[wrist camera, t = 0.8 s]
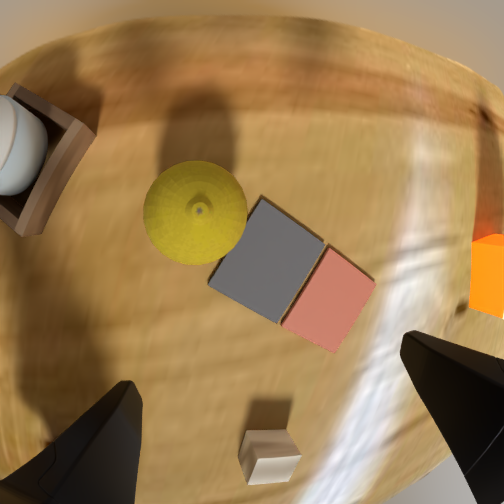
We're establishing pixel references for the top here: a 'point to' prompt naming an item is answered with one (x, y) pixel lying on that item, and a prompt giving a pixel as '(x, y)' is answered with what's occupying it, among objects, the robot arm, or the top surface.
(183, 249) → the lemon
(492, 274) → the orange juice
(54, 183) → the brown wooden tray
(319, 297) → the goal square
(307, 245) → the track square
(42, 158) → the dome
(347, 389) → the top surface
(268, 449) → the ivory cube
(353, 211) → the top surface
